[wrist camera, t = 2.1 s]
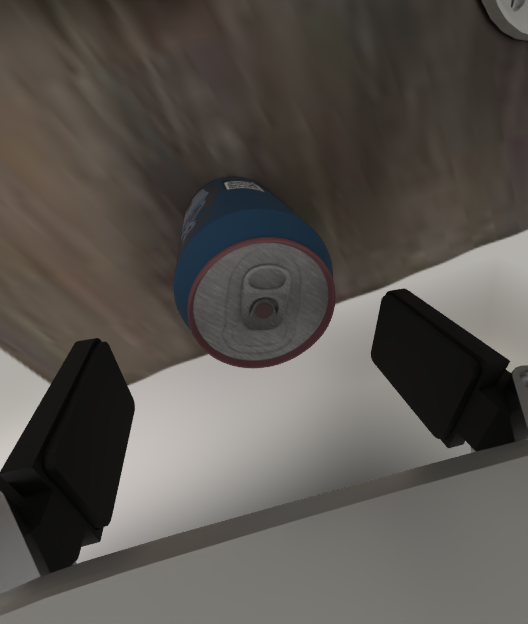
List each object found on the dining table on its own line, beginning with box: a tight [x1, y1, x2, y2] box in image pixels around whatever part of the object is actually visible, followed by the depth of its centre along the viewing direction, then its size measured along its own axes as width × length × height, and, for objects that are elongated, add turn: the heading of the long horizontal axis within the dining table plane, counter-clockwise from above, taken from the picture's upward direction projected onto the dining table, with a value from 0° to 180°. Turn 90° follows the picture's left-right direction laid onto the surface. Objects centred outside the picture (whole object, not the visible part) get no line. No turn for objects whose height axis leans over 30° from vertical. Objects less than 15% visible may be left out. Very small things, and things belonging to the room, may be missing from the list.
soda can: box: [174, 177, 335, 368], centre depth 15 cm, size 7×7×12 cm
